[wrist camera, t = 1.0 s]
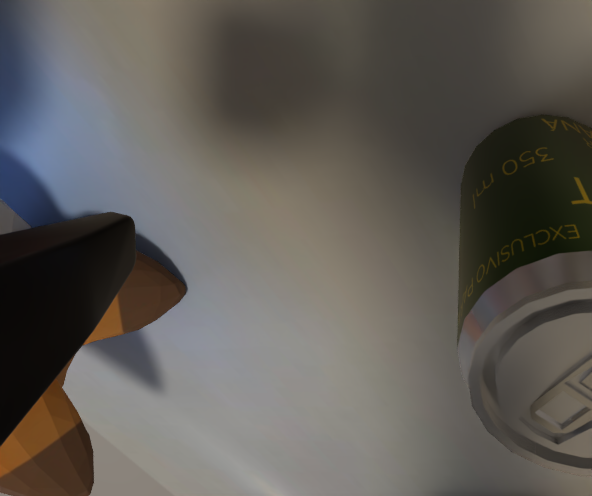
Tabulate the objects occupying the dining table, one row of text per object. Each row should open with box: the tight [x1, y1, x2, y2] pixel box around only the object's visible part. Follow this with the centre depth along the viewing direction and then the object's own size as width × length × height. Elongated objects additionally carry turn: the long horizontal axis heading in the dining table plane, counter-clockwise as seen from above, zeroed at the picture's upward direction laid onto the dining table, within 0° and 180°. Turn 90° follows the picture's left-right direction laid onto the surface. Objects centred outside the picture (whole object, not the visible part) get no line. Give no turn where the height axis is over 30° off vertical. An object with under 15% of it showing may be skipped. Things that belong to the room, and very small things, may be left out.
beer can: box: [457, 115, 592, 476], centre depth 16 cm, size 5×5×12 cm
